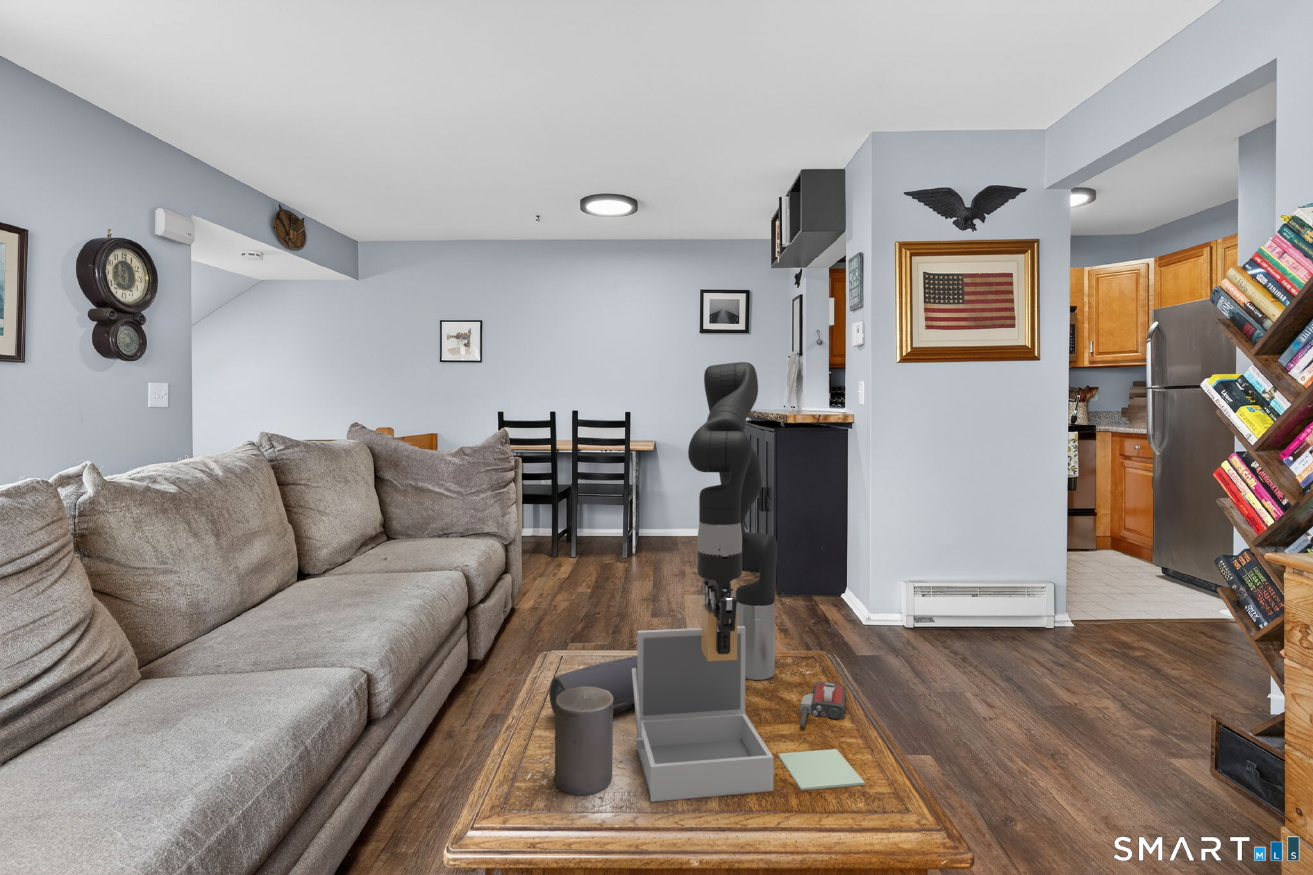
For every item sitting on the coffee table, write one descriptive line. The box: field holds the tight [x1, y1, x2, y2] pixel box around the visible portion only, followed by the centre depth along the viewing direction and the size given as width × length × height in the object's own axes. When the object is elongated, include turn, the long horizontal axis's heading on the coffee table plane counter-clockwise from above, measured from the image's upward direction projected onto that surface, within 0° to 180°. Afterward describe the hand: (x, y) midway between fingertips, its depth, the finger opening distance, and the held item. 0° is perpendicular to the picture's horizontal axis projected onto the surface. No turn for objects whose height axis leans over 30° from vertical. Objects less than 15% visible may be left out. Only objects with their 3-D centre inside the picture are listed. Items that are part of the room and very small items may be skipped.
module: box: [701, 603, 737, 661], centre depth 111 cm, size 5×5×8 cm
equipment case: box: [632, 626, 775, 803], centre depth 111 cm, size 18×21×22 cm
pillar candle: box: [554, 686, 614, 796], centre depth 108 cm, size 10×10×15 cm
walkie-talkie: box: [799, 681, 847, 728], centre depth 134 cm, size 9×4×20 cm
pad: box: [777, 748, 866, 791], centre depth 111 cm, size 11×11×1 cm
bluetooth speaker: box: [548, 655, 637, 715], centre depth 133 cm, size 23×9×10 cm, turn 124°
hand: (719, 646), depth 111 cm, fingers closed on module, 5 cm apart
